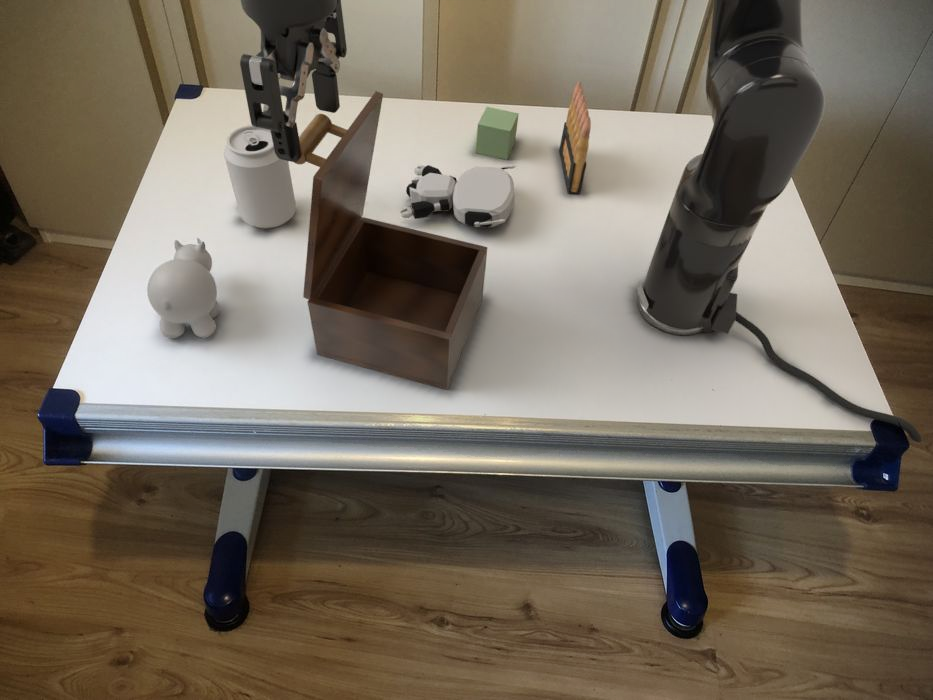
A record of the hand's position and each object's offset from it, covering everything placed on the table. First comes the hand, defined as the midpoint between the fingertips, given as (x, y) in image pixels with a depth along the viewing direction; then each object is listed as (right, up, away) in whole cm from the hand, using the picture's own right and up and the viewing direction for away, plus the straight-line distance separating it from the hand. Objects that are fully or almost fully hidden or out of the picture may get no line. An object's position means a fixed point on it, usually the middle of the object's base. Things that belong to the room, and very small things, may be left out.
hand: (309, 133), depth 64 cm
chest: (+7, -18, +18) cm, 26 cm away
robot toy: (+14, -1, +32) cm, 35 cm away
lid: (+2, -5, +5) cm, 8 cm away
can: (-12, -2, +29) cm, 32 cm away
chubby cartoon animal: (-17, -15, +18) cm, 29 cm away
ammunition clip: (+30, +6, +39) cm, 49 cm away
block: (+19, +11, +41) cm, 47 cm away
